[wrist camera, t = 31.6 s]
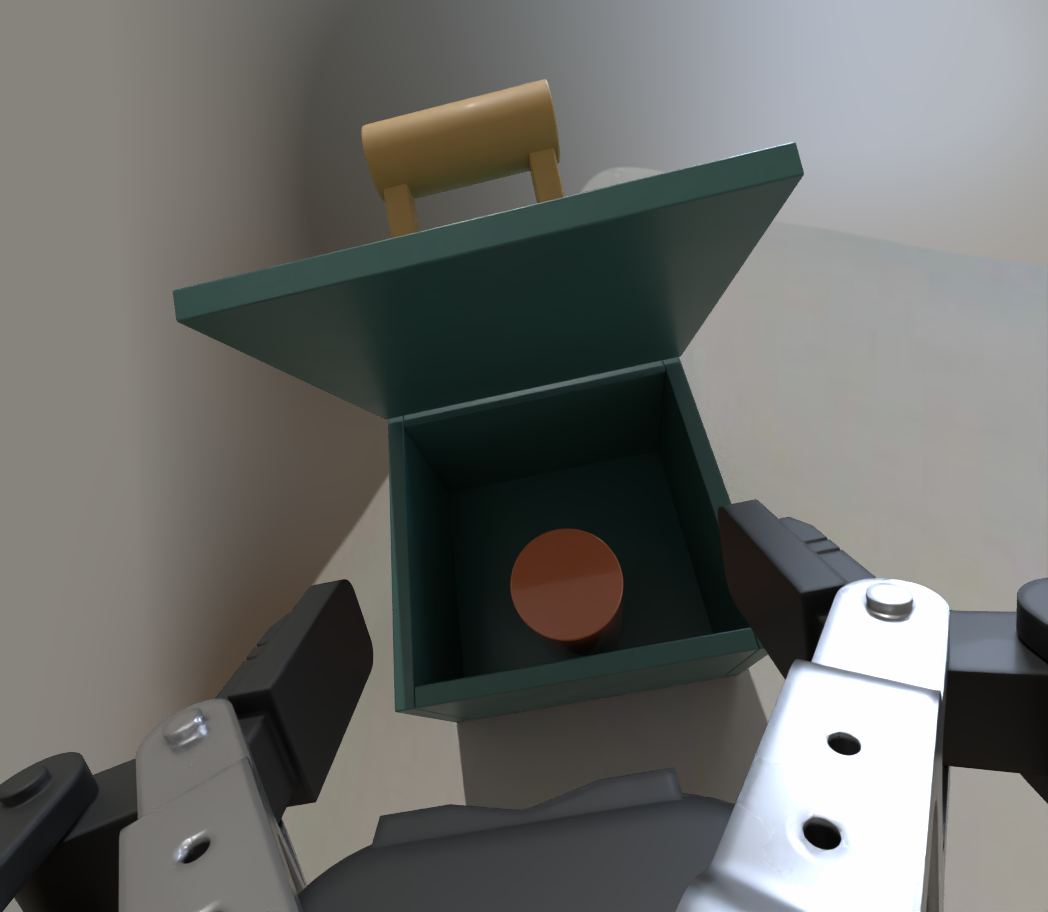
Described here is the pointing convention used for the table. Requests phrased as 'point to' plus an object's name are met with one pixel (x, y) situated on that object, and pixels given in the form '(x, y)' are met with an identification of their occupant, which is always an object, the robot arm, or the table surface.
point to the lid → (499, 267)
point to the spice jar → (570, 593)
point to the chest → (548, 504)
